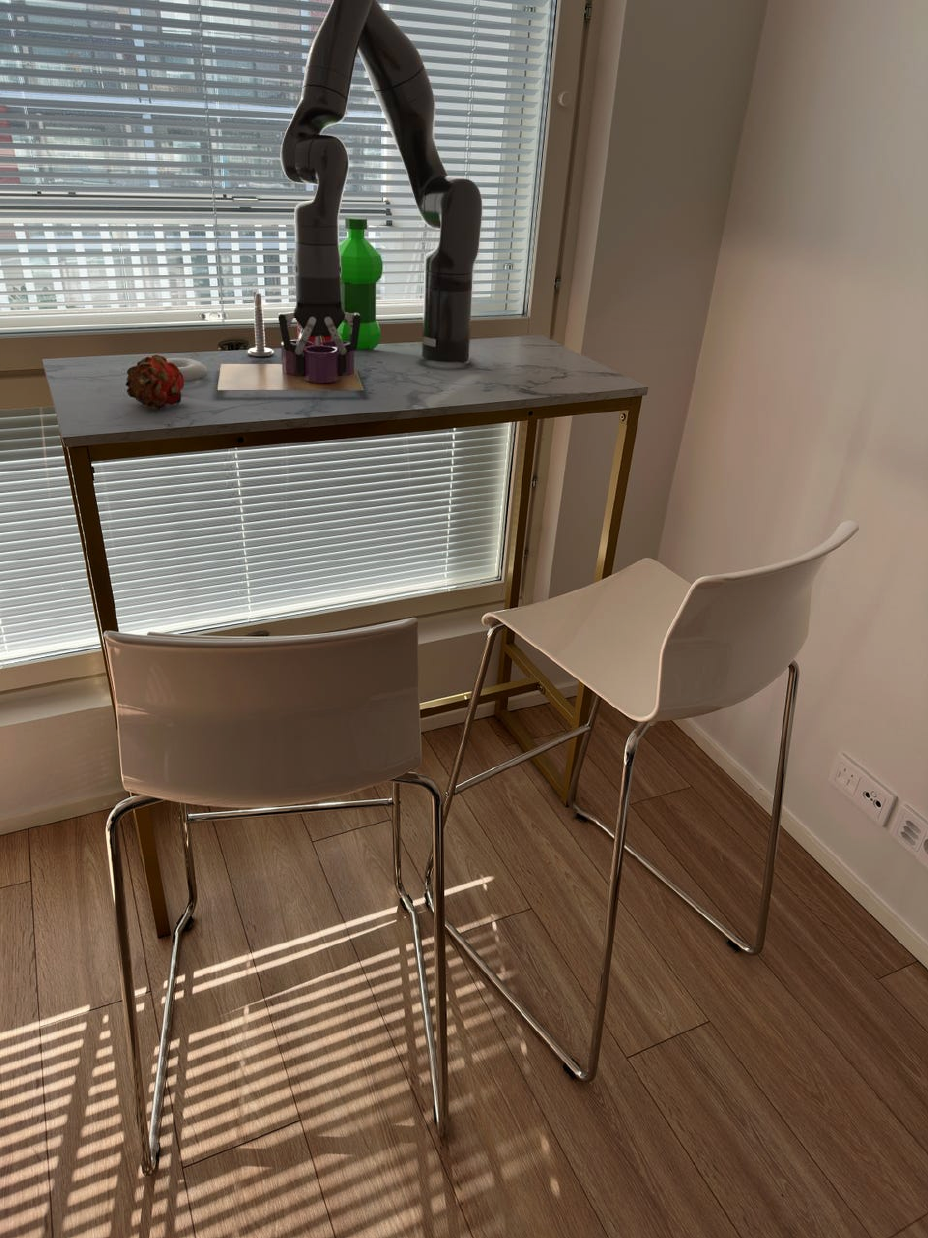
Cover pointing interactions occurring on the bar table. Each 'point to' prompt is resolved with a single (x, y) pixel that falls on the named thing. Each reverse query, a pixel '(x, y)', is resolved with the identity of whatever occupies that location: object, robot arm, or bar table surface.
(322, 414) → the bar table surface
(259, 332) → the screw
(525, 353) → the bar table surface
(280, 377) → the oak board
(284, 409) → the bar table surface
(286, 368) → the rear ramekin
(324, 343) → the end ramekin
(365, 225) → the plastic bottle
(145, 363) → the dragon fruit
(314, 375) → the front ramekin
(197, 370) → the donut
